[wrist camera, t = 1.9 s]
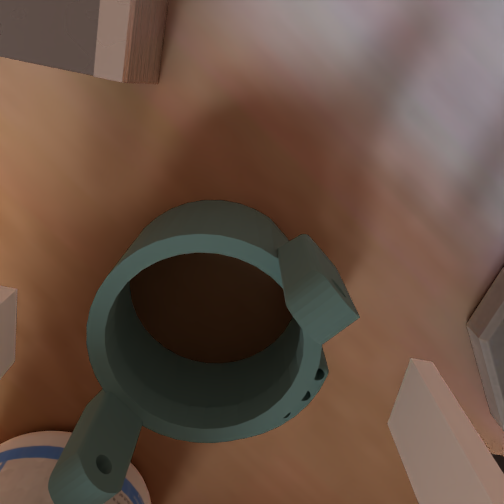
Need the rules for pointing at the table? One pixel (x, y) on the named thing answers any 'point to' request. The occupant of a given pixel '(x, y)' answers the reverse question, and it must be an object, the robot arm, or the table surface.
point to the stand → (87, 36)
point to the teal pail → (193, 372)
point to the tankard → (490, 345)
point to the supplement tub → (49, 471)
